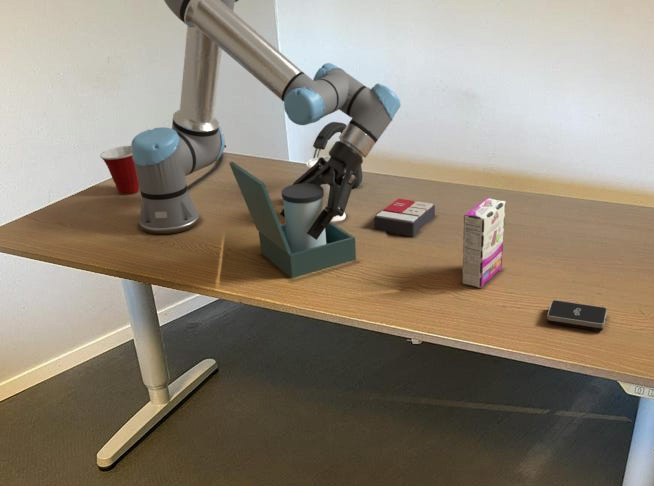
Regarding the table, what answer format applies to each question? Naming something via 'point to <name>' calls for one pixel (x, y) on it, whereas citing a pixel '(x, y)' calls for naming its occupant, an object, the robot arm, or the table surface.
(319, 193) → the canister
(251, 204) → the chest lid
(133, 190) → the plastic cup
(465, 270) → the candy bar box
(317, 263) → the chest
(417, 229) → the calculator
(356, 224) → the table surface
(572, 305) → the external hard drive
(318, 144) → the headphones
